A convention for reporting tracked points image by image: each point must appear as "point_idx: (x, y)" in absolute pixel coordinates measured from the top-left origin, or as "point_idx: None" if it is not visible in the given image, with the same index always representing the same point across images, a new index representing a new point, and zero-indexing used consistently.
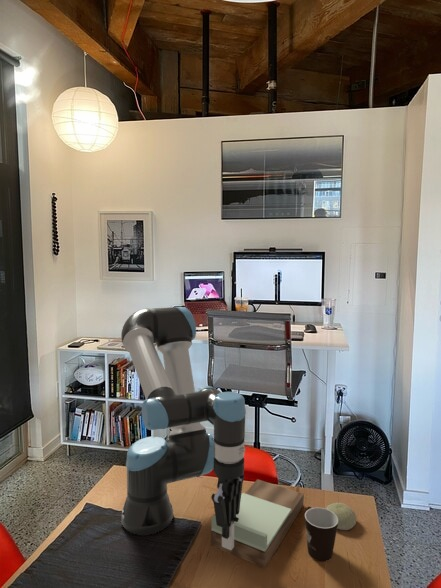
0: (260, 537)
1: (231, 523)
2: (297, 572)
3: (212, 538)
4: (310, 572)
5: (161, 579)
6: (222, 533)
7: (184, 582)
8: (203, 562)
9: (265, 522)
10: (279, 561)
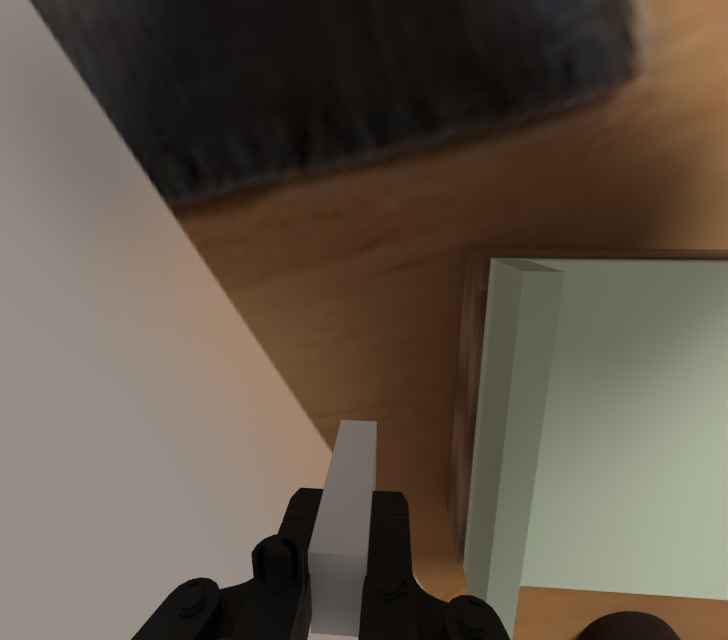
0: None
1: (338, 623)
2: None
3: (474, 263)
4: None
5: (156, 161)
6: (286, 516)
7: (206, 265)
8: (347, 276)
9: (685, 525)
10: None
